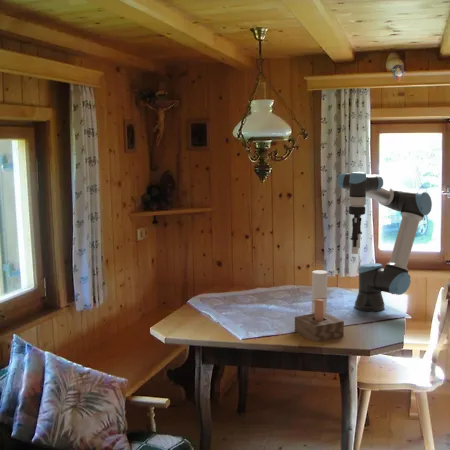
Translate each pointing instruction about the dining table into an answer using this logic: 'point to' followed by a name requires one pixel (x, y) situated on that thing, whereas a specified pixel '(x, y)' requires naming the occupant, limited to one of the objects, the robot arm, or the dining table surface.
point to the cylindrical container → (319, 288)
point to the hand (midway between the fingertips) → (355, 250)
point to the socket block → (319, 327)
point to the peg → (319, 309)
